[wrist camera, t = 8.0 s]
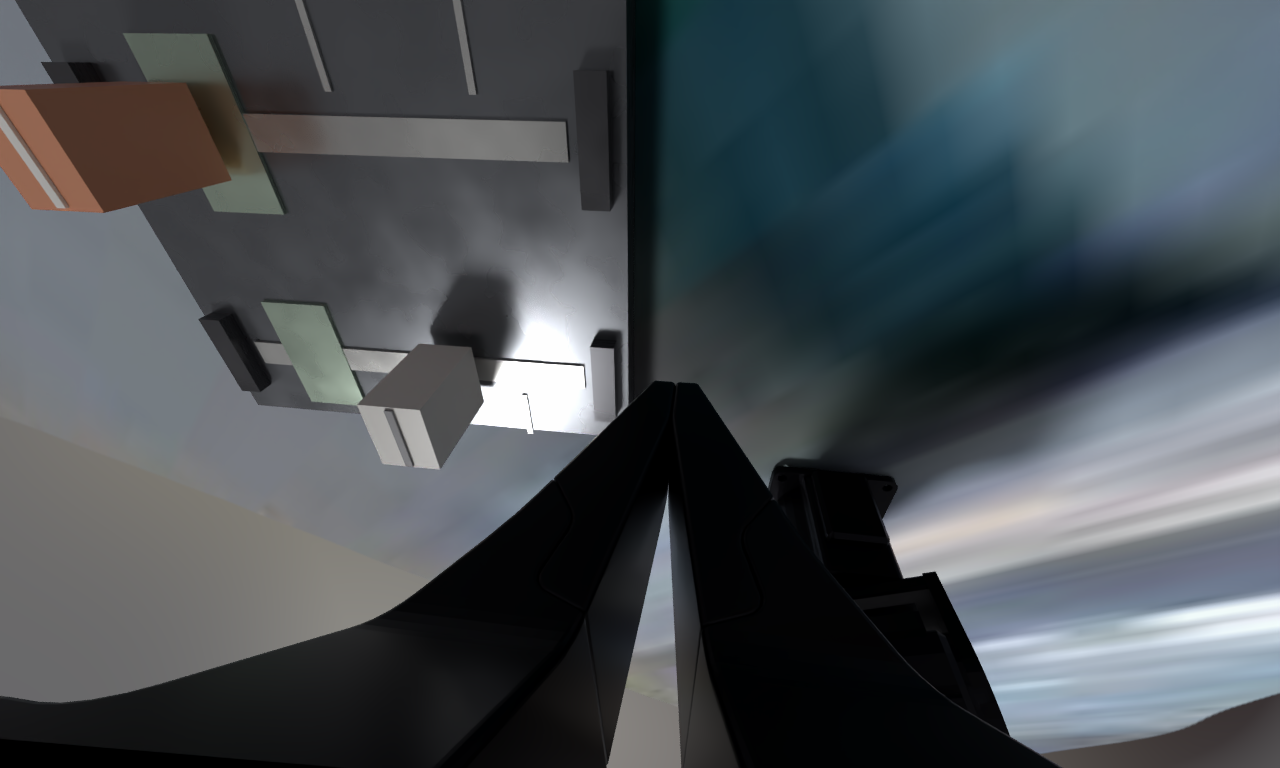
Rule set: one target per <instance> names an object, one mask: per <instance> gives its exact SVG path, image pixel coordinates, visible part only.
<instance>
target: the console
mask: <svg viewBox="0 0 1280 768" xmlns="http://www.w3.org/2000/svg"><path fill="white" fill-rule="evenodd" d="M15 1H16V3H17V4H18V6H19V8H20V9H21V11H22V13H23V14H24V16H25V17H26V19H27V21H28V22H29V24H30V26H31V27H32V29H33V31H34V32H35V34H36V36H37V37H38V39H39V41H40V42H41V44H42V46H43V47H44V49H45V51H46V52H47V54H48V56H49V57H50V59H51V61H52V62H41V63H42V65H43V66H44V68H45V70H46V71H47V73H48V75H49V76H50V78H51V79H52V81H53V83H54V84H64V83H91V82H118V81H127V82H179V83H186V84H187V86H188V88H189V90H190V92H191V95H192V97H193V99H194V101H195V103H196V105H197V107H198V109H199V111H200V114H201V116H202V118H203V120H204V122H205V124H206V126H207V128H208V130H209V133H210V135H211V137H212V139H213V141H214V143H215V145H216V147H217V150H218V152H219V154H220V156H221V158H222V160H223V162H224V164H225V166H226V169H227V171H228V173H229V175H230V177H231V179H232V180H231V181H227V182H223V183H219V184H215V185H212V186H208V187H204V188H200V189H196V190H192V191H188V192H184V193H180V194H176V195H172V196H168V197H164V198H160V199H156V200H152V201H148V202H145V203H141V204H138V205H139V207H140V209H141V210H142V212H143V214H144V215H145V217H146V219H147V220H148V222H149V224H150V225H151V227H152V229H153V230H154V232H155V234H156V235H157V237H158V239H159V240H160V242H161V244H162V245H163V247H164V249H165V250H166V252H167V254H168V255H169V257H170V259H171V260H172V262H173V264H174V265H175V267H176V269H177V270H178V272H179V274H180V275H181V277H182V279H183V280H184V282H185V284H186V285H187V287H188V289H189V290H190V292H191V294H192V295H193V297H194V299H195V300H196V302H197V304H198V305H199V307H200V309H201V310H202V312H203V314H204V315H205V316H204V317H202V318H200V319H199V321H200V322H201V324H202V326H203V327H204V329H205V331H206V332H207V334H208V336H209V337H210V339H211V340H212V342H213V344H214V345H215V347H216V349H217V350H218V352H219V353H220V355H221V357H222V358H223V360H224V362H225V363H226V365H227V367H228V368H229V370H230V371H231V373H232V375H233V376H234V378H235V380H236V381H237V383H238V384H239V386H240V388H241V389H242V391H250V392H251V393H252V395H253V397H254V398H255V400H256V402H257V403H258V405H266V406H277V407H289V408H300V409H311V410H322V411H334V412H345V413H356V414H361V413H360V411H359V409H358V406H357V404H358V403H359V402H360V401H361V400H362V399H363V398H364V397H365V396H366V395H367V394H368V393H369V392H370V391H371V390H372V389H373V388H374V387H375V386H376V385H377V384H378V383H379V382H380V381H381V380H382V379H383V378H384V377H385V376H386V375H387V374H388V373H389V372H390V371H392V370H393V369H394V368H395V367H396V366H397V365H398V364H399V363H400V362H401V361H402V360H403V359H404V358H405V357H406V356H407V355H408V354H409V353H410V352H411V351H412V350H413V349H414V348H415V347H416V346H417V345H418V344H432V345H446V346H460V347H471V348H472V353H473V357H474V361H475V365H476V369H477V374H478V378H479V382H480V386H481V391H482V395H483V399H484V403H483V405H482V406H481V408H480V409H479V411H478V412H477V414H476V415H475V417H474V418H473V420H472V421H471V423H470V424H480V425H491V426H502V427H514V428H525V429H528V433H533V429H536V430H547V431H559V432H570V433H581V434H592V435H599V434H600V433H601V432H602V431H603V430H604V429H605V428H606V427H607V426H608V425H609V424H610V423H611V422H612V421H613V420H614V419H615V418H616V417H617V416H618V415H619V414H620V413H621V412H622V411H623V410H624V409H625V408H626V407H627V406H628V405H629V404H630V403H631V402H632V401H634V210H635V0H15Z"/></svg>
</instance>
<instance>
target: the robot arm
mask: <svg viewBox="0 0 1280 768" xmlns="http://www.w3.org/2000/svg"><path fill="white" fill-rule="evenodd" d="M780 475H784V476H780ZM668 485H669V490H668ZM885 485H887V486H885ZM897 488H898V486H897V484H896V482H895V480H894V478H892V477H889V476H880V475H870V474H859V473H848V472H837V471H826V470H815V469H804V468H793V467H777V468H775V469H774V470H773V471H772V474H771V478H770V482H769V486H768V488H767V486H766V485H765V483H764V482H763V480H762V479H761V477H760V476H759V474H758V473H757V472H756V470H755V469H754V467H753V466H752V464H751V463H750V461H749V460H748V458H747V457H746V455H745V454H744V452H743V451H742V449H741V448H740V446H739V445H738V443H737V442H736V440H735V439H734V437H733V436H732V434H731V433H730V431H729V430H728V428H727V427H726V425H725V424H724V422H723V421H722V419H721V418H720V416H719V415H718V413H717V412H716V410H715V409H714V407H713V406H712V404H711V403H710V401H709V400H708V398H707V397H706V395H705V394H704V392H703V391H702V389H701V388H700V386H699V385H698V384H696V383H681V382H679V383H677V384H676V386H675V384H674V383H673V382H666V381H654V382H652V383H651V384H650V385H649V386H648V387H647V388H646V389H645V390H644V391H643V392H642V393H641V394H640V395H639V396H638V397H637V398H636V399H635V400H634V401H632V402H631V403H630V404H629V405H628V406H627V407H626V408H625V409H624V410H623V411H622V412H621V413H620V414H619V415H618V416H617V417H616V418H615V419H614V420H613V421H612V422H611V423H610V424H609V425H608V426H607V427H606V428H605V429H604V430H603V431H602V432H601V433H600V434H599V435H598V436H597V437H595V438H594V439H593V440H592V441H591V442H590V443H589V444H588V445H587V446H586V447H585V448H584V449H583V450H582V451H581V452H580V453H579V454H578V455H577V456H576V457H575V458H574V459H573V460H572V461H571V462H570V463H569V464H568V465H567V466H566V467H565V468H564V469H563V470H562V471H561V472H560V473H559V474H557V475H556V476H555V478H554V480H551V481H550V482H549V483H548V484H547V485H546V486H545V487H544V488H543V489H542V490H541V491H540V492H539V493H538V494H537V495H535V496H534V497H533V498H532V499H531V500H530V501H529V502H528V503H527V504H526V505H525V506H523V507H522V508H521V509H520V510H519V511H518V512H517V513H516V514H515V515H513V516H512V517H511V518H510V519H509V520H507V521H506V522H505V523H504V524H502V525H501V526H500V527H499V528H498V529H496V530H495V531H494V532H493V533H492V534H490V535H489V536H488V537H487V538H485V539H484V540H483V541H481V542H480V543H479V544H478V545H476V546H475V547H474V548H473V549H471V550H470V551H469V552H467V553H466V554H465V555H464V556H462V557H461V558H460V559H458V560H457V561H456V562H455V563H453V564H452V565H451V566H449V567H448V568H447V569H446V570H444V571H443V572H442V573H441V574H439V575H438V576H437V577H435V578H434V579H433V580H432V581H430V582H429V583H428V584H426V585H425V586H424V587H423V588H422V589H420V590H419V591H417V592H416V593H415V594H413V595H412V596H411V597H409V598H408V599H407V600H405V601H404V602H402V603H401V604H399V605H397V606H396V607H394V608H393V609H391V610H389V611H388V612H386V613H384V614H382V615H380V616H378V617H376V618H374V619H372V620H370V621H367V622H365V623H362V624H360V625H357V626H354V627H351V628H348V629H344V630H341V631H337V632H334V633H331V634H327V635H324V636H320V637H317V638H314V639H310V640H307V641H304V642H300V643H297V644H294V645H290V646H287V647H283V648H280V649H277V650H273V651H270V652H267V653H263V654H260V655H256V656H253V657H250V658H246V659H243V660H239V661H236V662H233V663H230V664H226V665H223V666H220V667H216V668H213V669H209V670H206V671H203V672H199V673H196V674H192V675H189V676H185V677H182V678H179V679H176V680H172V681H169V682H165V683H162V684H159V685H154V686H151V687H147V688H143V689H139V690H136V691H132V692H128V693H123V694H118V695H113V696H108V697H102V698H97V699H92V700H83V701H74V702H64V703H55V702H54V703H53V702H37V701H30V700H25V699H19V698H12V697H4V696H0V768H606V765H607V764H608V761H609V756H610V752H611V747H612V743H613V738H614V733H615V729H616V725H617V721H618V716H619V711H620V707H621V703H622V698H623V694H624V689H625V685H626V680H627V676H628V671H629V667H630V662H631V658H632V653H633V649H634V644H635V640H636V635H637V631H638V626H639V622H640V617H641V613H642V608H643V604H644V599H645V595H646V590H647V586H648V581H649V577H650V573H651V568H652V564H653V559H654V555H655V550H656V546H657V541H658V537H659V532H660V528H661V523H662V519H663V514H664V510H665V505H666V500H667V493H668V508H669V528H670V548H671V568H672V588H673V608H674V628H675V648H676V668H677V688H678V708H679V728H680V746H681V747H680V748H681V768H1062V767H1061V766H1059V765H1057V764H1055V763H1054V762H1052V761H1050V760H1049V759H1047V758H1045V757H1044V756H1042V755H1040V754H1039V753H1037V752H1035V751H1034V750H1032V749H1030V748H1029V747H1027V746H1025V745H1024V744H1022V743H1020V742H1018V741H1017V740H1015V739H1013V738H1012V737H1010V735H1009V732H1008V729H1007V727H1006V724H1005V721H1004V719H1003V716H1002V714H1001V711H1000V709H999V706H998V704H997V701H996V699H995V696H994V694H993V692H992V689H991V687H990V684H989V682H988V680H987V677H986V675H985V673H984V671H983V668H982V666H981V664H980V662H979V660H978V657H977V655H976V653H975V651H974V649H973V647H972V645H971V643H970V641H969V639H968V637H967V635H966V633H965V631H964V628H963V626H962V624H961V622H960V620H959V618H958V616H957V614H956V612H955V610H954V608H953V606H952V604H951V602H950V600H949V598H948V596H947V594H946V592H945V590H944V588H943V586H942V584H941V582H940V580H939V578H938V576H937V574H936V572H929V573H922V575H923V576H917V577H911V578H905V579H903V576H902V573H901V571H900V568H899V565H898V563H897V560H896V557H895V555H894V552H893V549H892V547H891V544H890V539H889V536H888V534H887V531H886V528H885V526H884V523H883V520H882V519H883V517H884V515H885V513H886V511H887V509H888V507H889V505H890V503H891V501H892V499H893V497H894V495H895V493H896V491H897Z"/></svg>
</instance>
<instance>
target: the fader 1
mask: <svg viewBox="0 0 1280 768" xmlns="http://www.w3.org/2000/svg"><path fill="white" fill-rule="evenodd" d="M0 166H1V168H2V169H3V170H4V172H5V173H6V175H7V176H8V177H9V179H10V180H11V181H12V183H13V184H14V185H15V187H16V188H17V189H18V191H19V192H20V194H21V195H22V196H23V198H24V199H25V200H26V202H27V203H28V204H29V206H30V207H31V209H38V210H59V211H79V212H99V213H105V212H109V211H113V210H117V209H121V208H125V207H129V206H133V205H137V204H141V203H145V202H148V201H152V200H156V199H160V198H164V197H168V196H172V195H176V194H180V193H184V192H188V191H192V190H196V189H200V188H204V187H208V186H212V185H215V184H219V183H223V182H227V181H231V180H232V179H231V177H230V175H229V173H228V171H227V169H226V166H225V164H224V162H223V160H222V158H221V156H220V154H219V152H218V150H217V147H216V145H215V143H214V141H213V139H212V137H211V135H210V133H209V130H208V128H207V126H206V124H205V122H204V120H203V118H202V116H201V114H200V111H199V109H198V107H197V105H196V103H195V101H194V99H193V97H192V95H191V92H190V90H189V88H188V86H187V84H186V83H179V82H127V81H118V82H91V83H64V84H36V85H9V86H0Z"/></svg>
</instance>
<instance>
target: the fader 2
mask: <svg viewBox="0 0 1280 768" xmlns="http://www.w3.org/2000/svg"><path fill="white" fill-rule="evenodd" d="M483 403H484V399H483V395H482V391H481V386H480V382H479V378H478V374H477V369H476V365H475V361H474V357H473V353H472V348H471V347H460V346H446V345H432V344H418V345H417V346H416V347H415V348H414V349H413V350H412V351H411V352H410V353H409V354H408V355H407V356H406V357H405V358H404V359H403V360H402V361H401V362H400V363H399V364H398V365H397V366H396V367H395V368H394V369H393V370H392V371H390V372H389V373H388V374H387V375H386V376H385V377H384V378H383V379H382V380H381V381H380V382H379V383H378V384H377V385H376V386H375V387H374V388H373V389H372V390H371V391H370V392H369V393H368V394H367V395H366V396H365V397H364V398H363V399H362V400H361V401H360V402H359V403H358V404H357V406H358V409H359V411H360V413H361V415H362V418H363V420H364V422H365V425H366V427H367V429H368V431H369V434H370V436H371V438H372V440H373V443H374V445H375V447H376V449H377V452H378V454H379V456H380V458H381V461H382V463H383V464H389V465H399V466H407V467H419V468H429V469H439V470H440V469H441V468H442V466H443V464H444V463H445V461H446V460H447V458H448V457H449V455H450V454H451V452H452V451H453V449H454V448H455V446H456V445H457V443H458V441H459V440H460V438H461V437H462V435H463V434H464V432H465V431H466V429H467V428H468V426H469V425H470V423H471V421H472V420H473V418H474V417H475V415H476V414H477V412H478V411H479V409H480V408H481V406H482V405H483Z"/></svg>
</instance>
